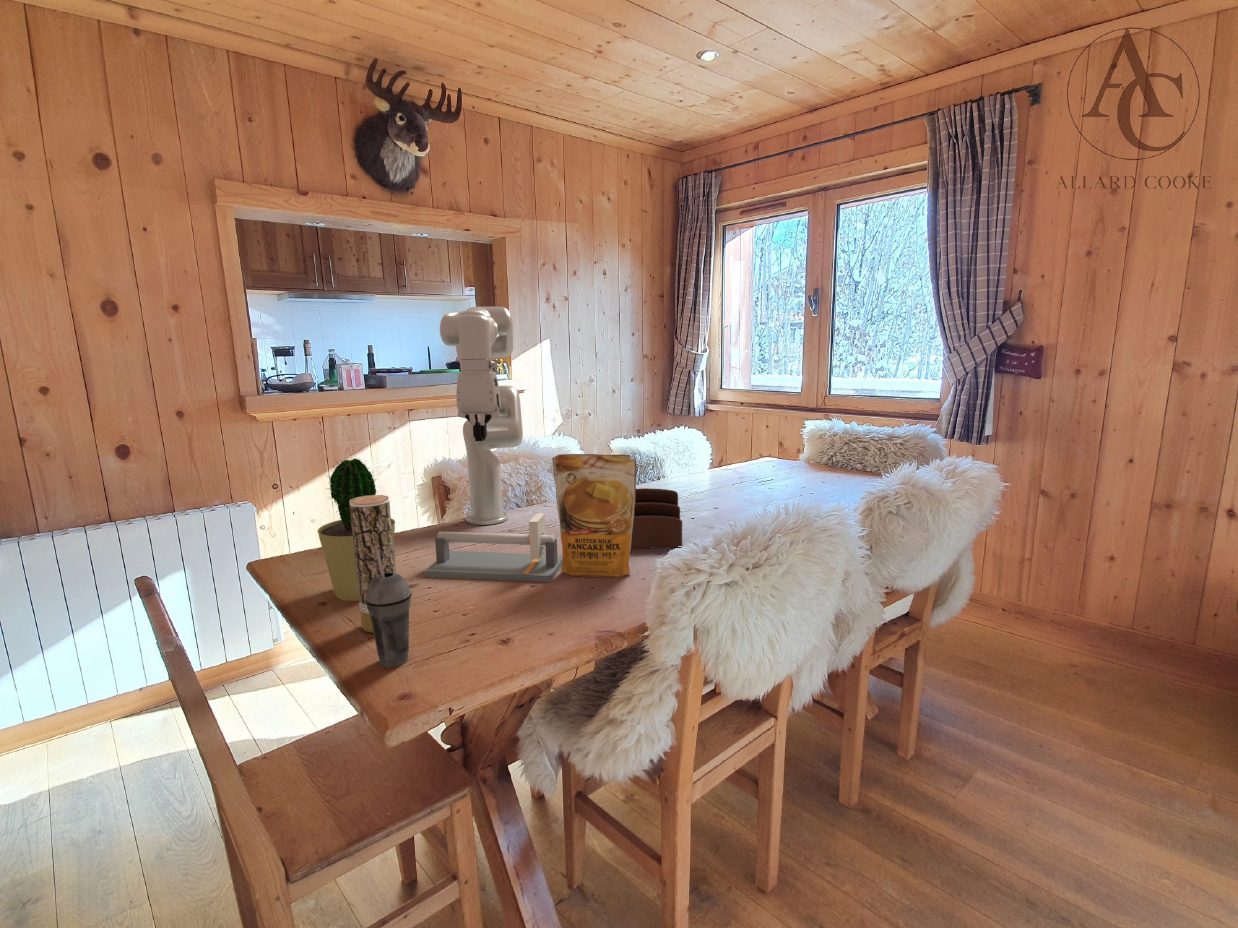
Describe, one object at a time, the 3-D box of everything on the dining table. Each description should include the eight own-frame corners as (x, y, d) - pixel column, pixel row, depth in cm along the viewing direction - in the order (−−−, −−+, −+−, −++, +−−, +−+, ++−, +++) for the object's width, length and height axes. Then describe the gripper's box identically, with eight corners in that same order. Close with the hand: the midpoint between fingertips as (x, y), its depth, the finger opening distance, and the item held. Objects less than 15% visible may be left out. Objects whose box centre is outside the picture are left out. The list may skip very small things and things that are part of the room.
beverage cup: (424, 660, 103) (415, 548, 100) (382, 676, 98) (372, 559, 95) (404, 646, 109) (395, 538, 105) (363, 661, 103) (352, 548, 100)
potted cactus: (391, 572, 144) (380, 447, 138) (408, 594, 131) (396, 457, 126) (320, 586, 136) (305, 454, 130) (330, 611, 123) (314, 466, 117)
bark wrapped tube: (387, 635, 112) (375, 505, 108) (354, 632, 114) (341, 503, 109) (406, 619, 119) (396, 495, 114) (375, 617, 120) (363, 494, 115)
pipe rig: (449, 556, 155) (447, 523, 153) (565, 560, 151) (563, 526, 149) (424, 576, 141) (422, 540, 139) (551, 582, 137) (549, 544, 135)
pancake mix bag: (559, 566, 147) (555, 451, 142) (637, 568, 145) (637, 452, 139) (552, 576, 140) (548, 457, 135) (634, 579, 138) (634, 458, 133)
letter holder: (606, 538, 168) (605, 488, 166) (677, 536, 169) (678, 487, 166) (606, 549, 159) (605, 497, 156) (682, 548, 159) (682, 495, 157)
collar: (538, 549, 147) (537, 513, 145) (546, 549, 147) (545, 513, 145) (530, 559, 140) (528, 521, 139) (538, 559, 140) (537, 521, 138)
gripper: (510, 365, 152) (513, 438, 155) (453, 366, 154) (457, 438, 157) (500, 367, 145) (504, 443, 148) (440, 367, 147) (445, 442, 150)
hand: (480, 440), depth 153 cm, fingers closed
